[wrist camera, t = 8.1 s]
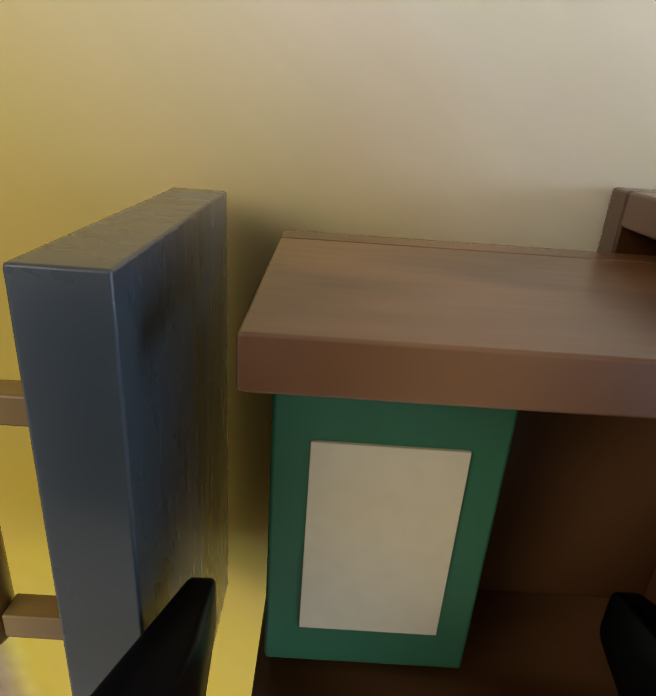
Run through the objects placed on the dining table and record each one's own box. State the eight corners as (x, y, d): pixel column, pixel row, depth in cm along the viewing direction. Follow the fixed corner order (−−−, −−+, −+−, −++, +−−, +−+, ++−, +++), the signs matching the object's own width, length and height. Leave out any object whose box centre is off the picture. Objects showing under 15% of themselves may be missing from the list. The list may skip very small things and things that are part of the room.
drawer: (57, 572, 17) (-113, 850, 10) (-6, 174, 12) (-370, 236, 6) (635, 608, 17) (813, 901, 11) (778, 229, 12) (1231, 347, 6)
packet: (436, 559, 15) (461, 673, 12) (278, 549, 15) (263, 661, 12) (478, 331, 12) (524, 402, 9) (287, 318, 12) (272, 384, 9)
